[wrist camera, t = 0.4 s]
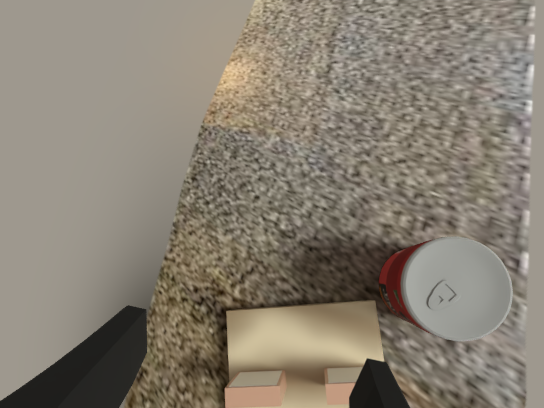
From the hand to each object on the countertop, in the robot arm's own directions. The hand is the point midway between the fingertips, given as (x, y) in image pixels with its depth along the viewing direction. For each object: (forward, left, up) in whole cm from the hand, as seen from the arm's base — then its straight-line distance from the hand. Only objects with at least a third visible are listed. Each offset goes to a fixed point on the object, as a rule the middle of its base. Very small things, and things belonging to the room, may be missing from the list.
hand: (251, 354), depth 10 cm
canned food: (+1, -13, -27) cm, 30 cm away
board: (-9, 0, -26) cm, 28 cm away
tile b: (-8, +4, -25) cm, 26 cm away
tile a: (-8, -5, -25) cm, 26 cm away
